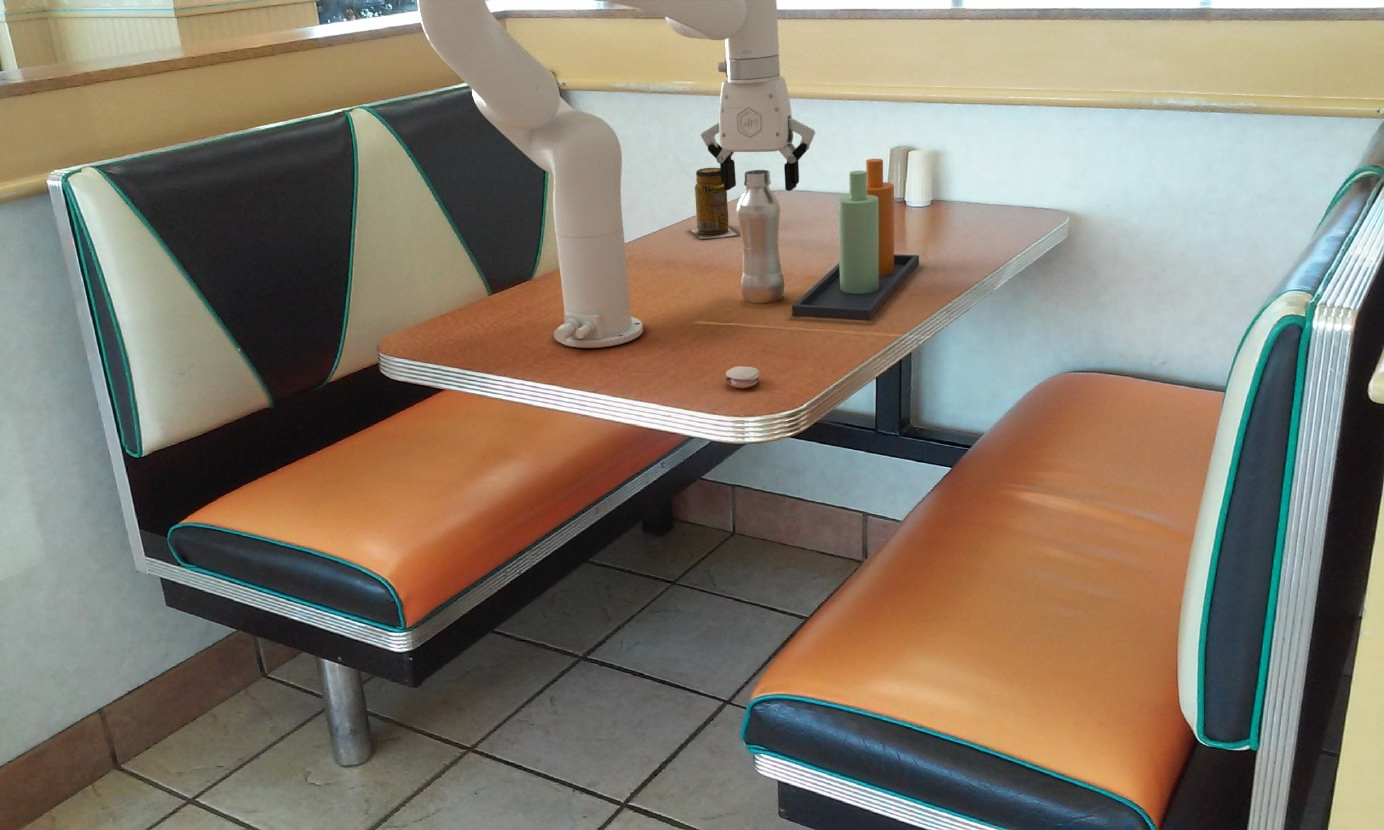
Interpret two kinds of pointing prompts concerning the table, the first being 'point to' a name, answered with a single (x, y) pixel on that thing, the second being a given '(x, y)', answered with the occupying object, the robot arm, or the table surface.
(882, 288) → the tray
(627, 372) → the table surface
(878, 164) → the amber bottle
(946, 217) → the table surface
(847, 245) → the sage bottle
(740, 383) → the macaroon
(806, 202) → the table surface
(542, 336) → the table surface
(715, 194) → the condiment
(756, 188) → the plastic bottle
